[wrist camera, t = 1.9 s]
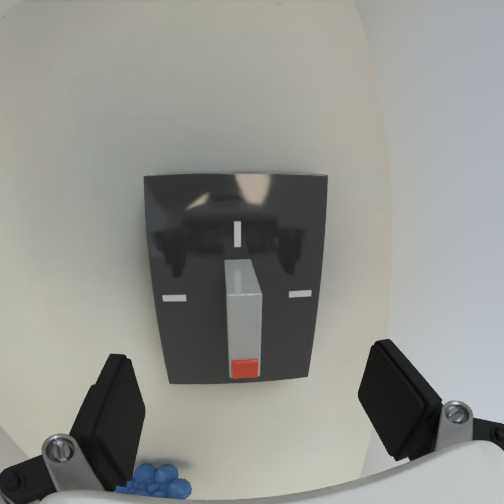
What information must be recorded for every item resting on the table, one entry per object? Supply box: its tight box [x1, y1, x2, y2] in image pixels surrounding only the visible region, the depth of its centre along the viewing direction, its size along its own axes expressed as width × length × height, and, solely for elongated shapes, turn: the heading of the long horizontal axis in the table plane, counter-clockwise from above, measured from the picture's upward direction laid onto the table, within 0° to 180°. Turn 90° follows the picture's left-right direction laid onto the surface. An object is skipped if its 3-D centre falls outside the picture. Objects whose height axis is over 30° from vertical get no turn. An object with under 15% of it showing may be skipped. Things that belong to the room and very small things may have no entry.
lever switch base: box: [144, 171, 328, 384], centre depth 18 cm, size 14×10×3 cm
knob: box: [224, 259, 262, 379], centre depth 14 cm, size 5×2×5 cm, turn 179°
